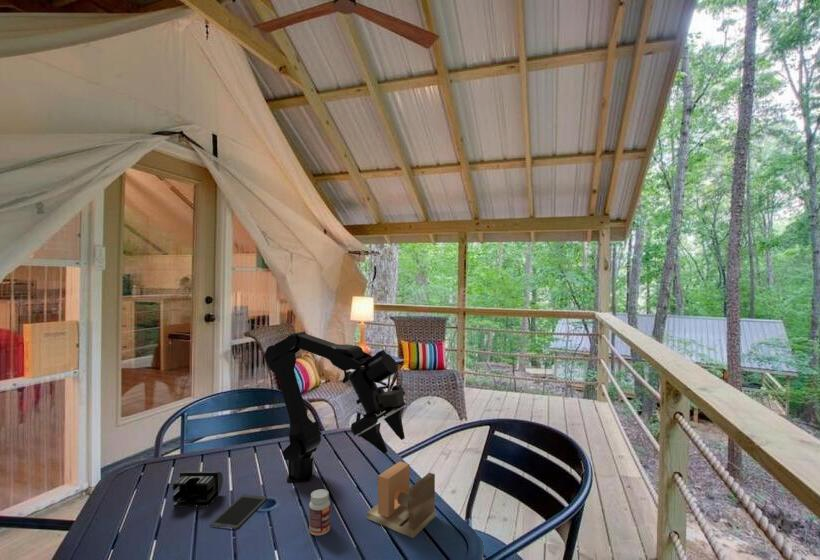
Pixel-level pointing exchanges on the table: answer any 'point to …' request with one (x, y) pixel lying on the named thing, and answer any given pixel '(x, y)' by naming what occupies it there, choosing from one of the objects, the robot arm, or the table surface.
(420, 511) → the pipe board
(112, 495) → the table surface
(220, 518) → the cell phone
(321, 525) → the pill bottle
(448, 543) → the table surface
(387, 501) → the wooden board
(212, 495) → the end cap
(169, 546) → the table surface
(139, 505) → the table surface
